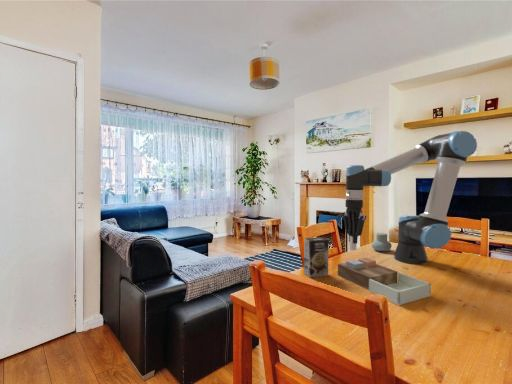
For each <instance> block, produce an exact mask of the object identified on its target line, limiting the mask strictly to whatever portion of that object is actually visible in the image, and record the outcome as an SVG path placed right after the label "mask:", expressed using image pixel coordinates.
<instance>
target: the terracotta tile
mask: <svg viewBox="0 0 512 384" xmlns="http://www.w3.org/2000/svg"><path fill="white" fill-rule="evenodd" d="M358 261H360V262H362V263H364V266H366V267H370V266H375V265H376V264H377V260H375V259H372V258H369V257H364V258H359V259H358Z"/></svg>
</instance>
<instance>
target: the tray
mask: <svg viewBox="0 0 512 384" xmlns="http://www.w3.org/2000/svg"><path fill="white" fill-rule="evenodd" d="M431 286H432V284H431V283H430V282H427V281H426V280H422V279H419V278H416V277H412V276H410V275H408V274H405V273H402V272H398V280H397V283H393V284H389V285H383V284H381V283H379V282H376V281H374V280H372V279H369V290H368V292H369V293H373V295H376V294H381V295H384V296H386V297H387V298H388V300H387V301H389V302H391V303H392V304H395V305H397V306H401V305H405V304H408V303H411V302H415V301H419V300H422V299H426V298H428V297H431Z"/></svg>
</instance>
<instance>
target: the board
mask: <svg viewBox="0 0 512 384" xmlns="http://www.w3.org/2000/svg"><path fill="white" fill-rule="evenodd" d="M356 260H357V259H356ZM357 261H358V260H357ZM398 273H399V271H397V270H394V269H391V268H389V267H386V266H383V265H380V264H377V263H376V265H375V266H370V267H366V266H364V268H360V269H353V268H350V267H348V266H346V262H341V263H338V264H337V276H338V277H340V278H343V279H344V280H347V281H349V282H352V283H354V284H356V285H358V286H360V287H362V288H363V289H365V290H368V291H369V279H372V280H374V281H376V282H379V283H381V284H383V285H389V284H393V283H397V282H398Z"/></svg>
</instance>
